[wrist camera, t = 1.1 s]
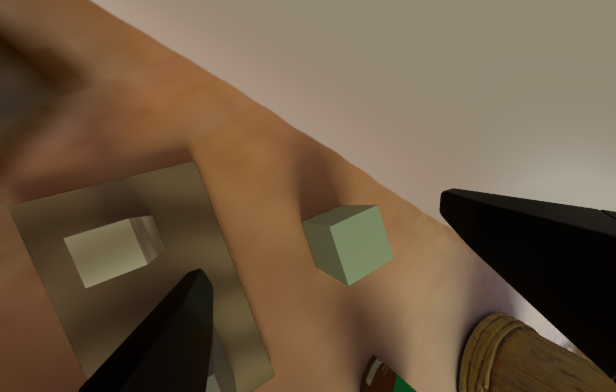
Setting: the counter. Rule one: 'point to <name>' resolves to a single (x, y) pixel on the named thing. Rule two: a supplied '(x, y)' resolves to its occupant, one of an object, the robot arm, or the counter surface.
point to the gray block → (219, 368)
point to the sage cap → (348, 241)
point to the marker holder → (136, 263)
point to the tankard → (524, 362)
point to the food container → (382, 378)
